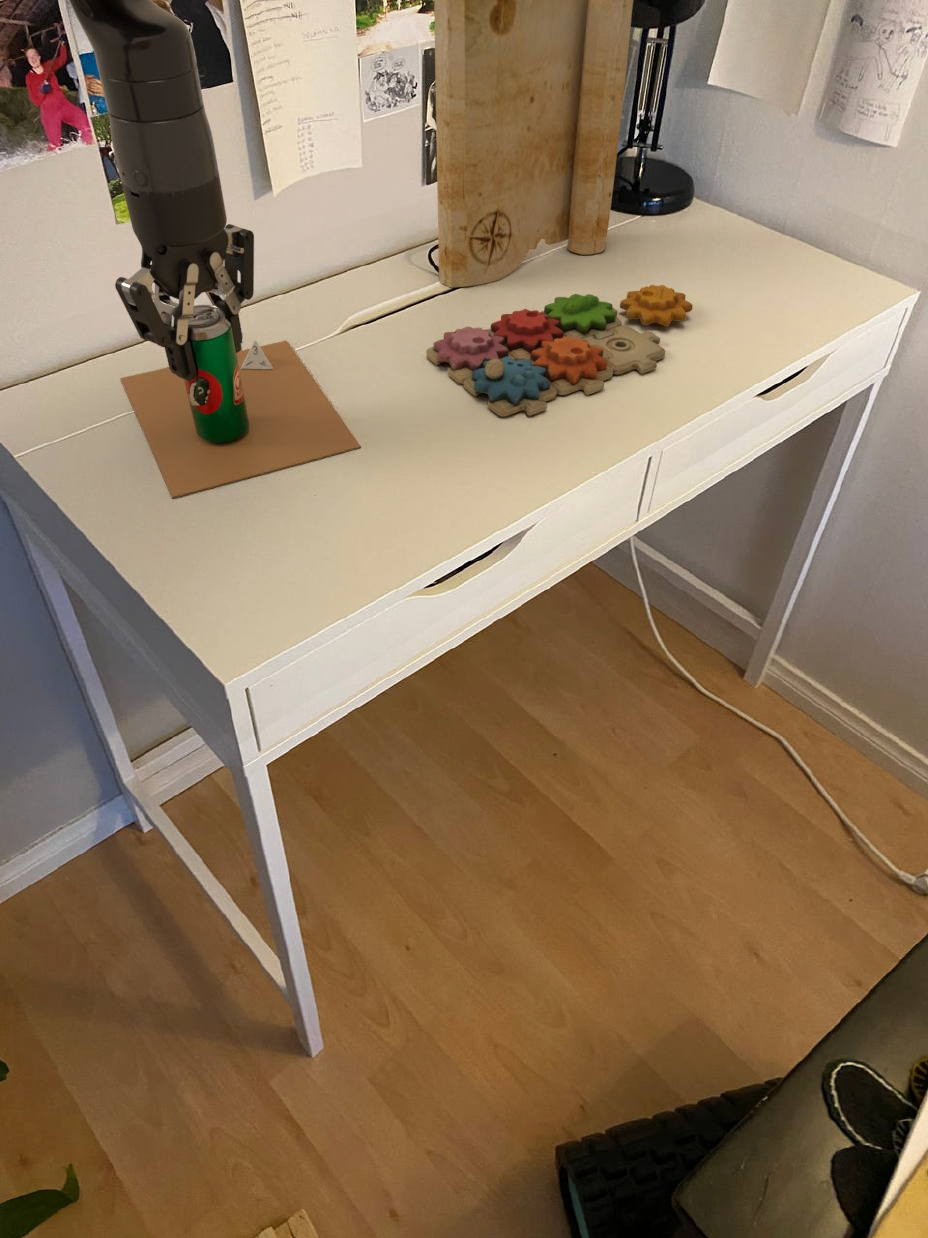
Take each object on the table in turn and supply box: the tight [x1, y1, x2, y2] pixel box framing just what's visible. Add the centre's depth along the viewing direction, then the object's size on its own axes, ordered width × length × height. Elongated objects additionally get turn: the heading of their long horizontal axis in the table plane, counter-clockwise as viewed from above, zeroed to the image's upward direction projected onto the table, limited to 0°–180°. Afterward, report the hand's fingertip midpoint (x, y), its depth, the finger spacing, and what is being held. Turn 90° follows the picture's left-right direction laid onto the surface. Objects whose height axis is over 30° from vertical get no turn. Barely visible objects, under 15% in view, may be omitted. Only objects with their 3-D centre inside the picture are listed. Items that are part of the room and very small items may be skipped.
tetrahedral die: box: [241, 339, 273, 370], centre depth 100 cm, size 4×3×3 cm
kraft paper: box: [120, 340, 362, 500], centre depth 95 cm, size 18×22×1 cm
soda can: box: [184, 304, 249, 444], centre depth 88 cm, size 5×5×12 cm
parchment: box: [433, 0, 634, 289], centre depth 108 cm, size 23×6×30 cm, turn 117°
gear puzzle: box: [425, 284, 694, 417], centre depth 102 cm, size 31×16×4 cm, turn 123°
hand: (208, 362), depth 87 cm, fingers closed on soda can, 5 cm apart
